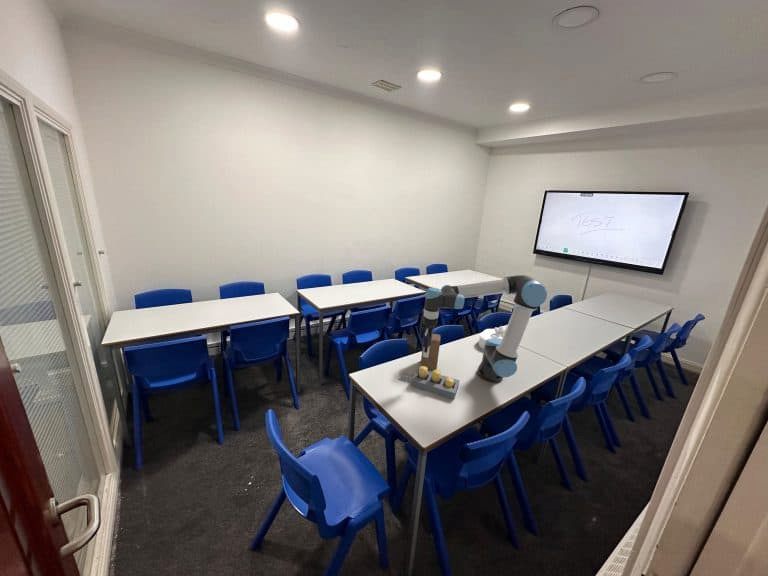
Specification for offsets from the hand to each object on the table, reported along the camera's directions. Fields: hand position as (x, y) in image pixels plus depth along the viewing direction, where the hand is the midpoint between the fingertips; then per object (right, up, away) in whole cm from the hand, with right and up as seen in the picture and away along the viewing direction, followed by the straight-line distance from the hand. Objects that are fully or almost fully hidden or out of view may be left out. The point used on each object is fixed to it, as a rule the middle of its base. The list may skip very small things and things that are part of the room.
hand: (425, 356), depth 164 cm
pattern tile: (-9, -14, +9) cm, 19 cm away
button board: (+6, -17, +3) cm, 18 cm away
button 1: (+13, -17, -1) cm, 21 cm away
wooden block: (+5, -11, +23) cm, 26 cm away
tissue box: (+60, -5, +54) cm, 81 cm away
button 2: (+6, -13, +1) cm, 15 cm away
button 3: (-1, -12, +4) cm, 13 cm away
